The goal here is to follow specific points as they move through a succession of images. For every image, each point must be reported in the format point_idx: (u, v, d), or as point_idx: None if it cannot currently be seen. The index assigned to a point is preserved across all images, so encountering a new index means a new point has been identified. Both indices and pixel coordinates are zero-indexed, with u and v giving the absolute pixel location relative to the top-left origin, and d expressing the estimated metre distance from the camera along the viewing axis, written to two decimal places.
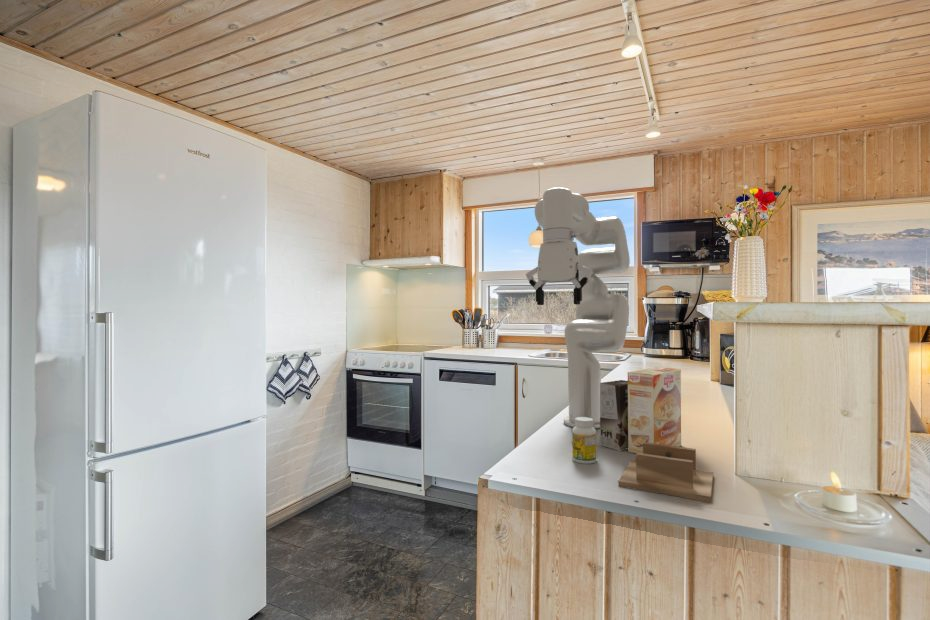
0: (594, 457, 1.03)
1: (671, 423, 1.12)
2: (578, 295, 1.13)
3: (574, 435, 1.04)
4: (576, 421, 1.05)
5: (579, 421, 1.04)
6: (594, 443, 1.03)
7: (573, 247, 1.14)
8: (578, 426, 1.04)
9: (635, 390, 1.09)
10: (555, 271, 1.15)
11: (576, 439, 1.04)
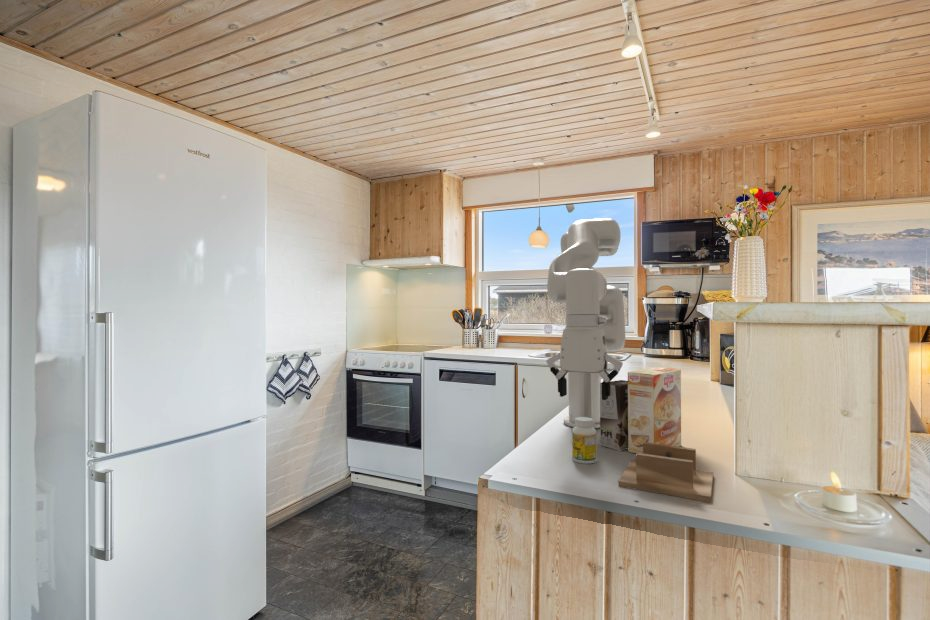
0: (594, 457, 1.03)
1: (671, 423, 1.12)
2: (607, 390, 1.01)
3: (574, 435, 1.04)
4: (576, 421, 1.05)
5: (579, 421, 1.04)
6: (594, 443, 1.03)
7: (601, 336, 1.02)
8: (578, 426, 1.04)
9: (635, 390, 1.09)
10: (580, 362, 1.03)
11: (576, 439, 1.04)
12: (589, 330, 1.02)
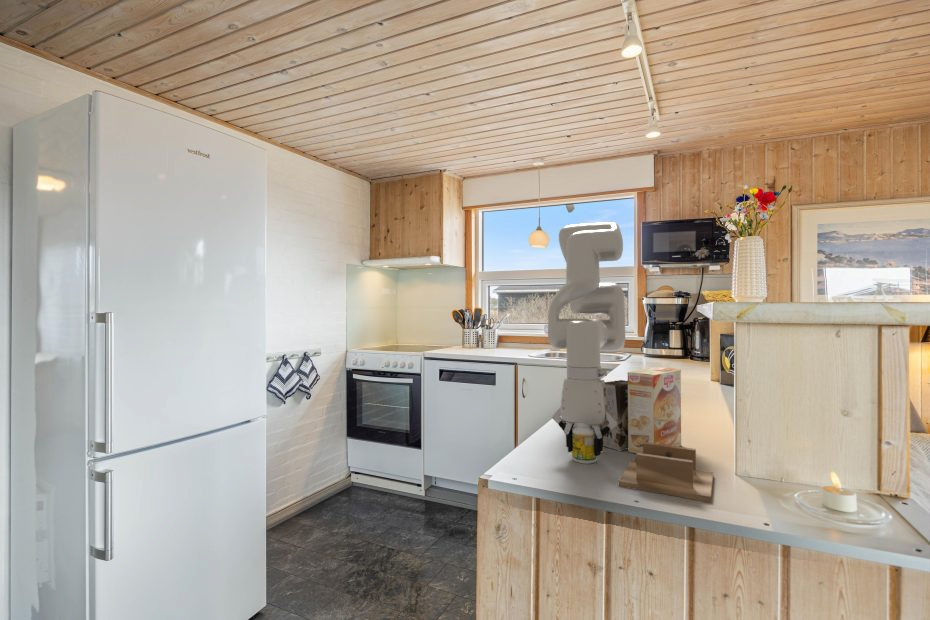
0: (594, 457, 1.03)
1: (671, 423, 1.12)
2: (599, 446, 1.03)
3: (574, 435, 1.04)
4: None
5: None
6: None
7: (601, 389, 1.02)
8: (578, 426, 1.04)
9: (635, 390, 1.09)
10: (581, 414, 1.03)
11: (576, 438, 1.04)
12: (590, 383, 1.02)
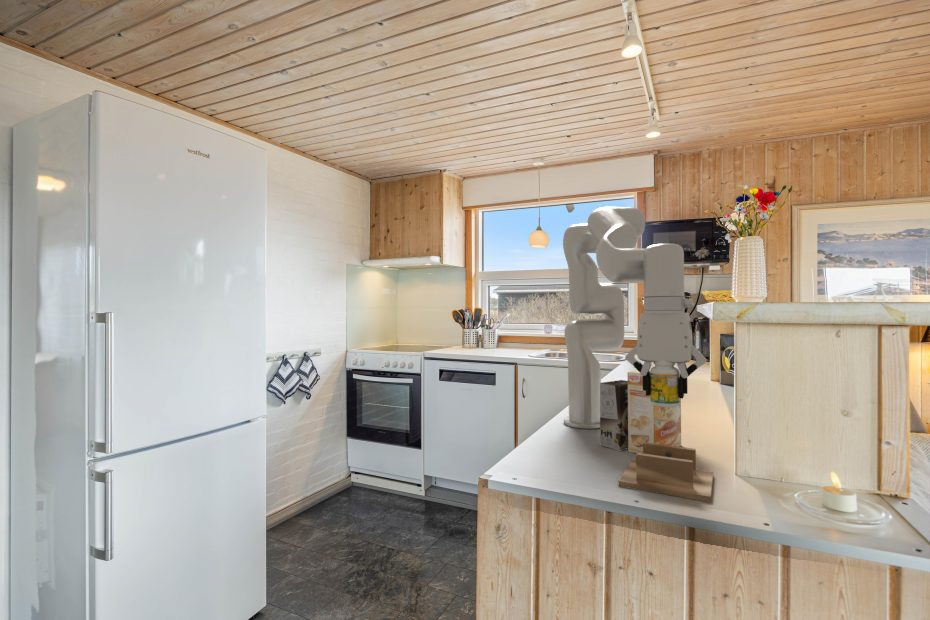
0: (678, 400, 0.90)
1: (671, 423, 1.12)
2: (684, 387, 0.89)
3: (654, 375, 0.91)
4: None
5: None
6: (678, 384, 0.90)
7: (688, 321, 0.89)
8: (658, 365, 0.91)
9: (635, 390, 1.09)
10: (663, 350, 0.90)
11: (656, 379, 0.90)
12: (674, 314, 0.89)
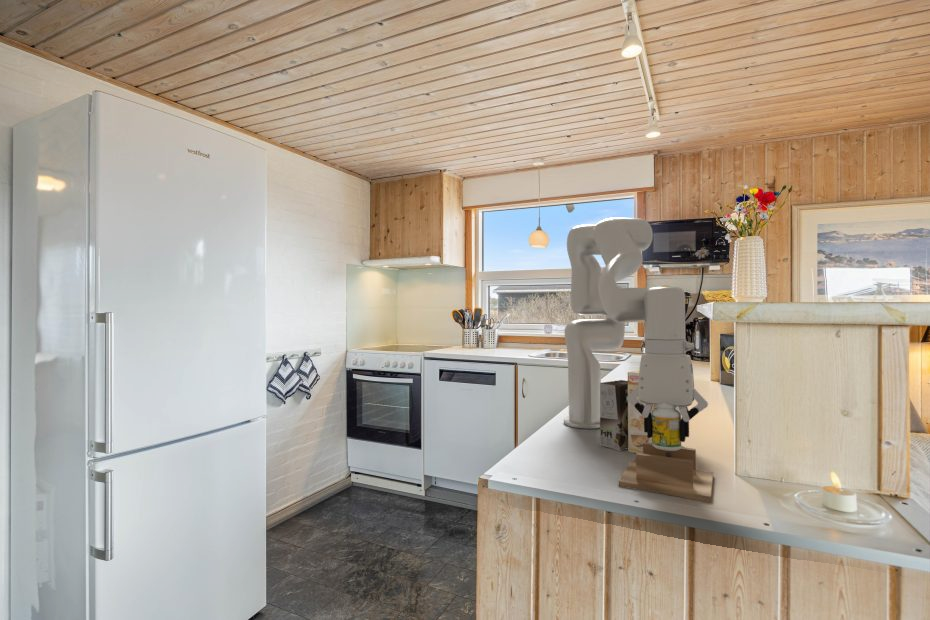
0: (679, 443, 0.90)
1: None
2: (686, 430, 0.89)
3: (655, 418, 0.91)
4: None
5: None
6: (679, 427, 0.90)
7: (689, 364, 0.89)
8: (660, 408, 0.91)
9: None
10: (664, 393, 0.90)
11: (658, 422, 0.90)
12: (675, 358, 0.89)
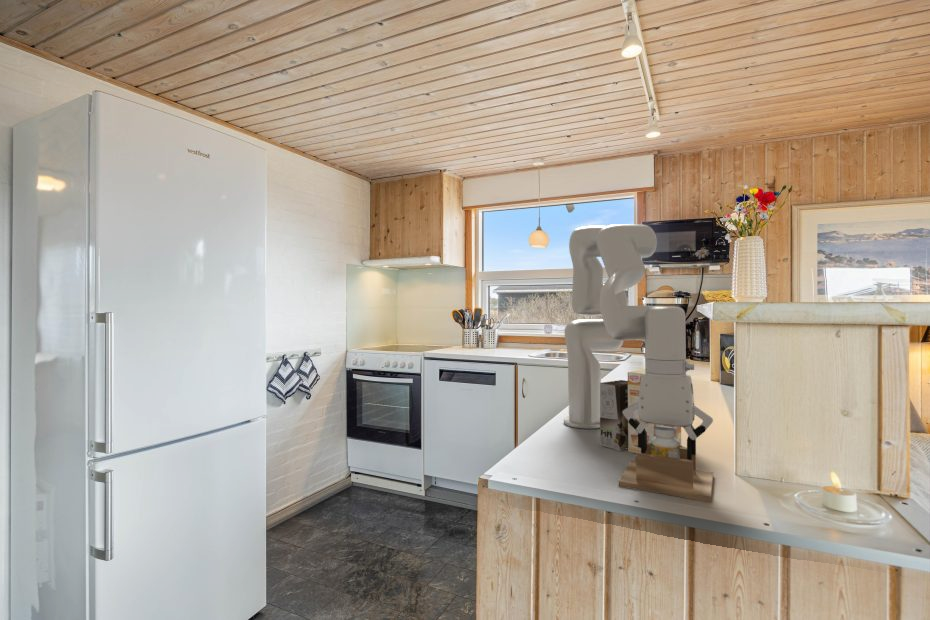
0: None
1: None
2: (693, 448, 0.89)
3: (655, 447, 0.91)
4: (657, 431, 0.92)
5: (661, 431, 0.91)
6: (678, 456, 0.90)
7: (689, 385, 0.89)
8: (659, 437, 0.91)
9: (635, 390, 1.09)
10: (664, 413, 0.90)
11: (657, 451, 0.91)
12: (675, 378, 0.89)
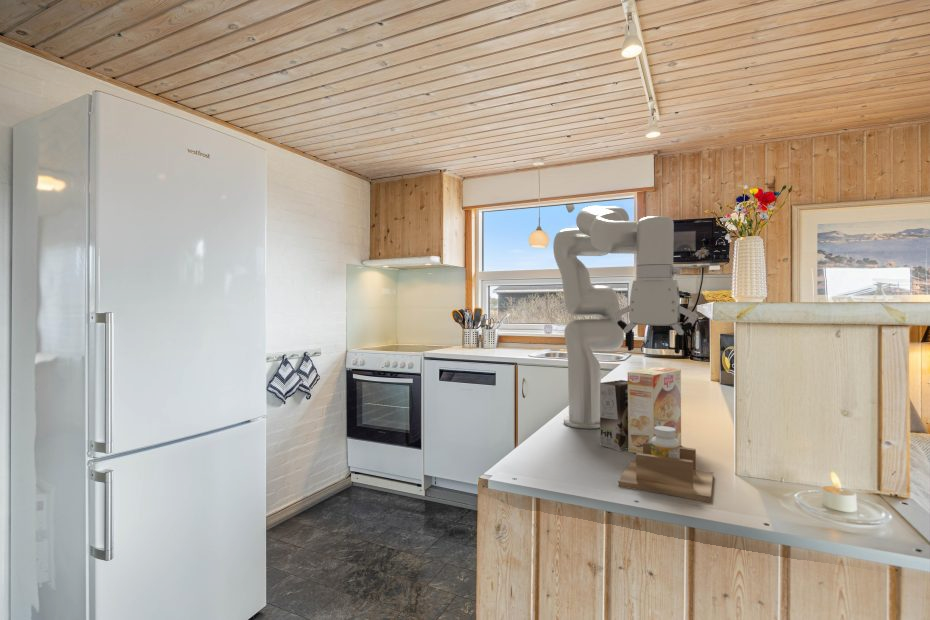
0: None
1: (671, 423, 1.12)
2: (680, 343, 0.98)
3: (655, 447, 0.91)
4: (657, 431, 0.92)
5: (661, 431, 0.91)
6: (678, 456, 0.90)
7: (675, 287, 0.97)
8: (659, 437, 0.91)
9: (635, 390, 1.09)
10: (652, 314, 0.99)
11: (657, 451, 0.91)
12: (663, 281, 0.97)
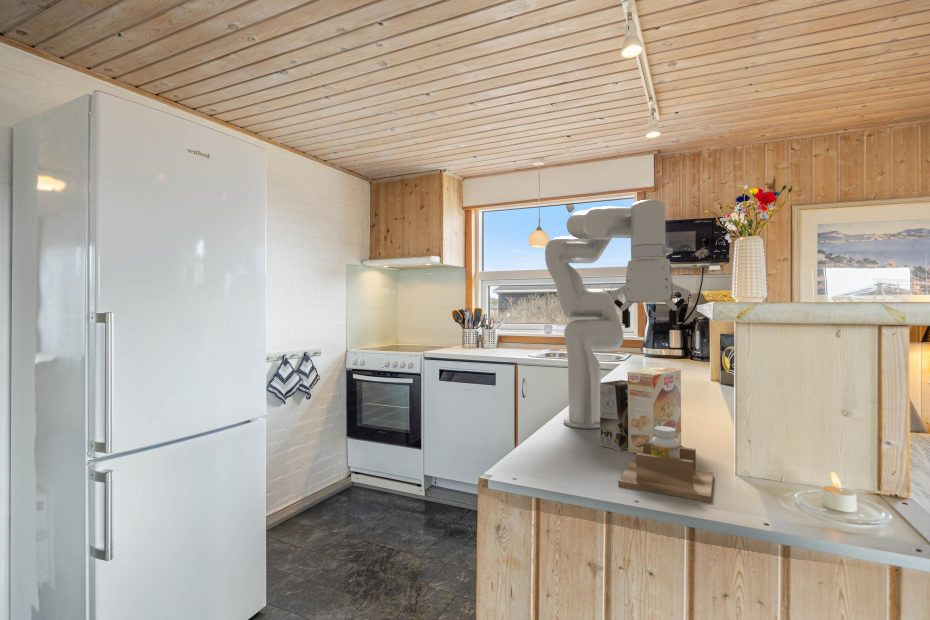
0: None
1: (671, 423, 1.12)
2: (674, 318, 1.03)
3: (655, 447, 0.91)
4: (657, 431, 0.91)
5: (661, 431, 0.91)
6: (678, 456, 0.90)
7: (668, 265, 1.03)
8: (659, 437, 0.91)
9: (635, 390, 1.09)
10: (647, 291, 1.04)
11: (657, 451, 0.91)
12: (656, 260, 1.03)
